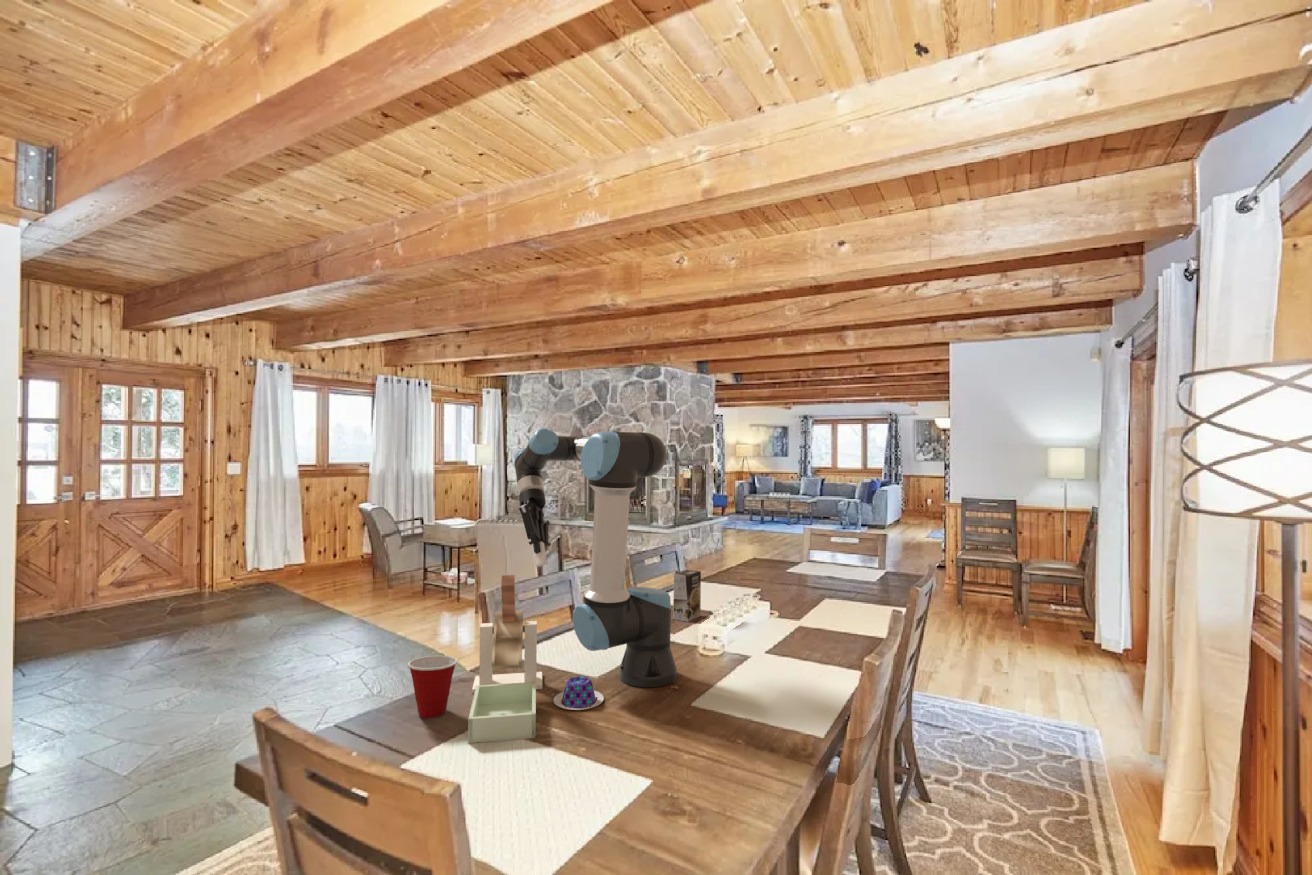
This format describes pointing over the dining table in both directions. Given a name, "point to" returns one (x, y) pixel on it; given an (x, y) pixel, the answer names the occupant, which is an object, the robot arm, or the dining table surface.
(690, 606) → the coffee box
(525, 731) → the tray
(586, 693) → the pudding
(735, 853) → the dining table surface
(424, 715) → the plastic cup
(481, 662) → the stand
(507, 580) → the lever
